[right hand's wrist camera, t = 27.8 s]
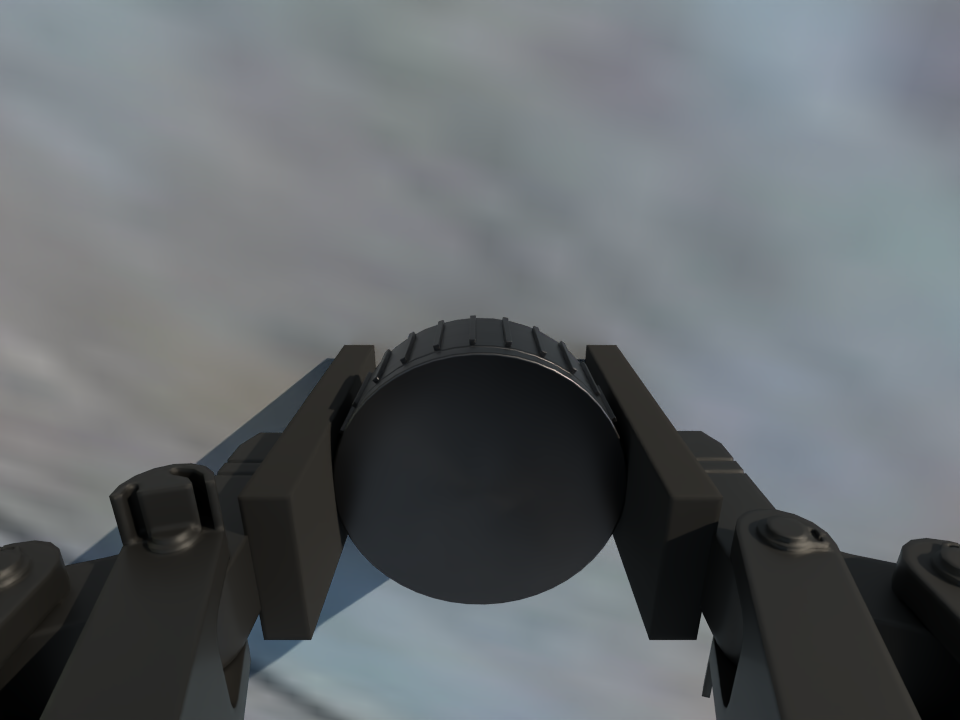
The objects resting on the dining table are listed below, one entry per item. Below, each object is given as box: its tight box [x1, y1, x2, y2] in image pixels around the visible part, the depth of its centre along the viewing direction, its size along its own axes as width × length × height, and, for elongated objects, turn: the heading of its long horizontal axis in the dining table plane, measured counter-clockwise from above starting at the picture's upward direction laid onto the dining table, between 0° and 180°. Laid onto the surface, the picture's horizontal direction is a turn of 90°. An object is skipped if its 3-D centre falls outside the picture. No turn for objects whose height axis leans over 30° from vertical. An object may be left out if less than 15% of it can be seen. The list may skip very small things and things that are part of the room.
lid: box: [333, 316, 627, 604], centre depth 11 cm, size 6×6×2 cm
